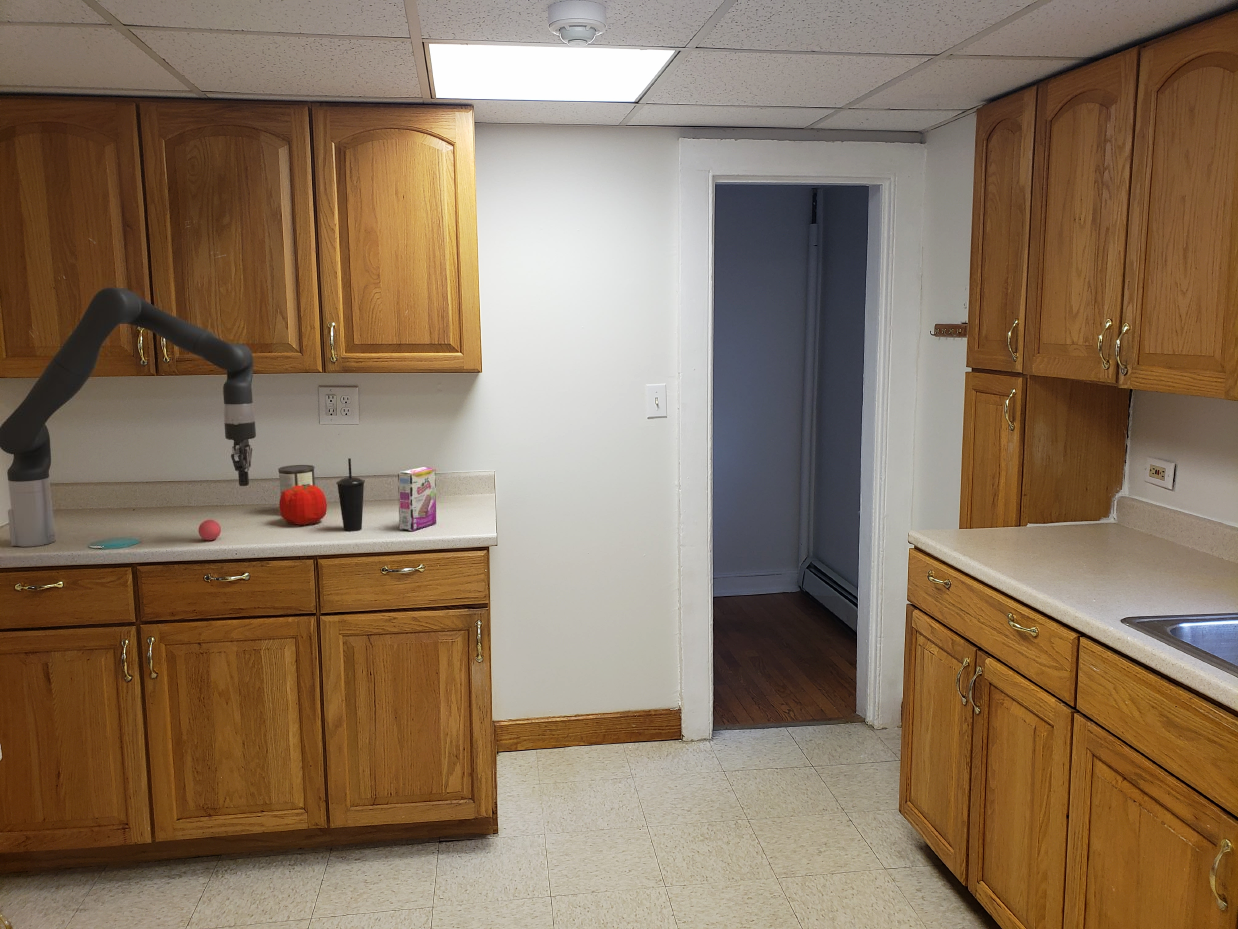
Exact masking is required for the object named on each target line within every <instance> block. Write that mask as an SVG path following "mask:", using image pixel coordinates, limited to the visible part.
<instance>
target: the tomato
mask: <svg viewBox="0 0 1238 929" xmlns="http://www.w3.org/2000/svg"><path fill="white" fill-rule="evenodd" d="M278 503H279V504H278V506H279V514H280V515H281V518H282V519H283V520H284V521H286V522H287V523H289V524H296V525H299V526H304V525H305V526H306V525H307V524H311V525H312V524H316V523H318V522H320V521H321V520H323V519H324V518H325V516H326V514H327V511H328V503H327V498H326V496H325V494H324V492H323V491H322V489H321V488H320V487H318V486H316V485H315V486H313V485H309V486H308V487H306V486H300V485H297V486H295V487H292V488H290V489H287V490H285V491H283V493H282V494H281V495H280V496H279V502H278Z"/></svg>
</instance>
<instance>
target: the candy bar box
mask: <svg viewBox="0 0 1238 929" xmlns="http://www.w3.org/2000/svg"><path fill="white" fill-rule="evenodd" d="M397 481H398V482H397V484H398V485H397V486H398V487H397V488H398V489H397V491H398V524H399V530H400V531H404V530H408V531H407V532H416V531H418V530H422V529H424V528H423V527H425V528H427V527H426V526H428V527H430V525H431V526H433V524H434V525H436V524H437V494H436V491H437V490H436V489H437V488H436V487H437V486H436V485H437V484H436V468H434V467H428V466H427V467H423V466H421V467H416V468H412V469H407V470H403V471H402V470H401V471H399V472H397ZM435 523H436V524H435ZM421 528H422V529H421Z"/></svg>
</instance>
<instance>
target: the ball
mask: <svg viewBox="0 0 1238 929" xmlns="http://www.w3.org/2000/svg"><path fill="white" fill-rule="evenodd" d="M197 530H198V531H197V532H198V535H199V536H200V538H201V539H203V540H206V541H214V540H216V539H217V538H219V536H220V535H221V532H222V528H221V525H220V523H218V521H216V520H213V519H207V520H204V521H202V522H200V524H199V526H198V529H197Z"/></svg>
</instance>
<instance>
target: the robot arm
mask: <svg viewBox="0 0 1238 929" xmlns="http://www.w3.org/2000/svg"><path fill="white" fill-rule="evenodd" d="M119 325H130V326H134V327H138V328H142V329H144V330H146V331H149V332H152V333H154V334H155V335H157V336H159V337H161V338H162V339H164V340H165V341H167V342H168V343H170V344H172V345H174V346H175V347H177V348H179V349H181V350H184V351H185V352H188V353H190V354H193V355H195V356H196V357H197V356H198V357H200V358H202V359H204V360H205V361H207V362H209V363H211V364H212V365H213V366H215V367H217V368H219V369H221V370H224V371H226V381H225V382H224V383H223V387H222V394H223V424H224V434H225V435H224V438H225V439H227V440H228V441H229V440H230V441H233V446H231V452H232V453H231V455H230V458H231V460H232V464H233V468H234V470H235V472H237V474H238V475H237V476H238V486H239V487H247V486H249V484H250V478H249V471H250V468H251V466H252V464H251V463H252V457H253V456H252V454H253V447H252V445H251V444H250V441H249V440H253V439H255V438H256V437H257V433H256V432H257V430H256V417H255V415H256V414H255V409H254V402H253V389H252V382H253V376H254V373H253V372H254V356H253V353H252V351H251V349H250V348H249V347H248V346H247V345H245V344H242V343H233V344H232V343H230V342H227V341H225V340H224V339H221V338H219V337H217V336H216V334H214V333H213V332H212V331H210V330H207V329H205V328H202V327H200V326H198V325H196V324H193V323H191V322H188V321H186V320H184V319H182V318H179V317H177V316H174V315H172V314H170V313H168V312H166V311H164V310H162V309H161V308H158V307H157V306H155V305H153V304H151V303H150V302H149V301H147V300H145V299H143V297H141V296H139V295H138V294H136V293H135V292H133V291H131V290H130V289H127V288H124V287H115V286H112V287H111V286H108V287H105V288H104V287H103V288H102V289H100V290H99V291H98V292H96V294H94V296H93V298H92V299H91V300H90V303H89V304H88V306H87V308H86V310H85V312H84V314H83V315H82V317H81V319H80V320H79V323H78V324H77V326H76V327H74V329H73V331H72V333H70V335H69V336H68V337H67V339H66V340H65V342H64V343H63V344H62V345H61V347H60V349H59V350H58V351H57V352H56V353H55V354H54V356H53V357H52V359H51V360H50V361H49V363H48V364H47V365H46V367H45V368H44V370H43V372H42V374H41V375H40V376H39V378H38V379H37V380H36V382H35V383H34V385H33V386H32V388H31V389H30V390H29V392H28V394H27V396H25V398H24V399H23V401H22V402H21V403H20V404H19V405H18V407H17V408H16V409H14V411H13V412H12V413H11V414H10V415H9V416H8V417H7V419H5V421H4V422H3V423H1V425H0V450H2V451H3V452H5V453H7V454H9V455H13V459H12V463H11V465H9V468H8V469H7V472H6V474H7V483H8V492H9V502H10V509H8V510H7V516H8V519H7V520H8V527H9V537H10V545H11V547H12V546H14V547H37V546H43V545H44V544H45V545H49V544H52V543H55V540H56V530H55V520H54V508H53V502H52V491H51V481H50V469H51V466H52V454H51V451H52V450H51V439H50V438H51V436H50V431H49V428H48V427H47V425H46V423H47V422H48V421H49V419H50V418H51V417H52V416H53V414H54V413H55V412H57V411H58V410H60V408H61V407H63V406H64V405H65V404H66V403H68V402H69V401H70V400H71V399H72V398H74V397H75V396H76V395H77V394H78V392H79V391H80V390H81V389H82V388H83V386H84V385H85V383H86V382H87V381H88V379H89V378H90V377H91V375H92V374H93V372H94V370H95V368H96V365H97V363H98V359H99V356H100V351H101V348H102V346H103V344H104V342H105V341H106V340H107V339H108V337H109V336H110V334H112V333H113V331H114V330H115V328H116V327H118V326H119Z"/></svg>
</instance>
